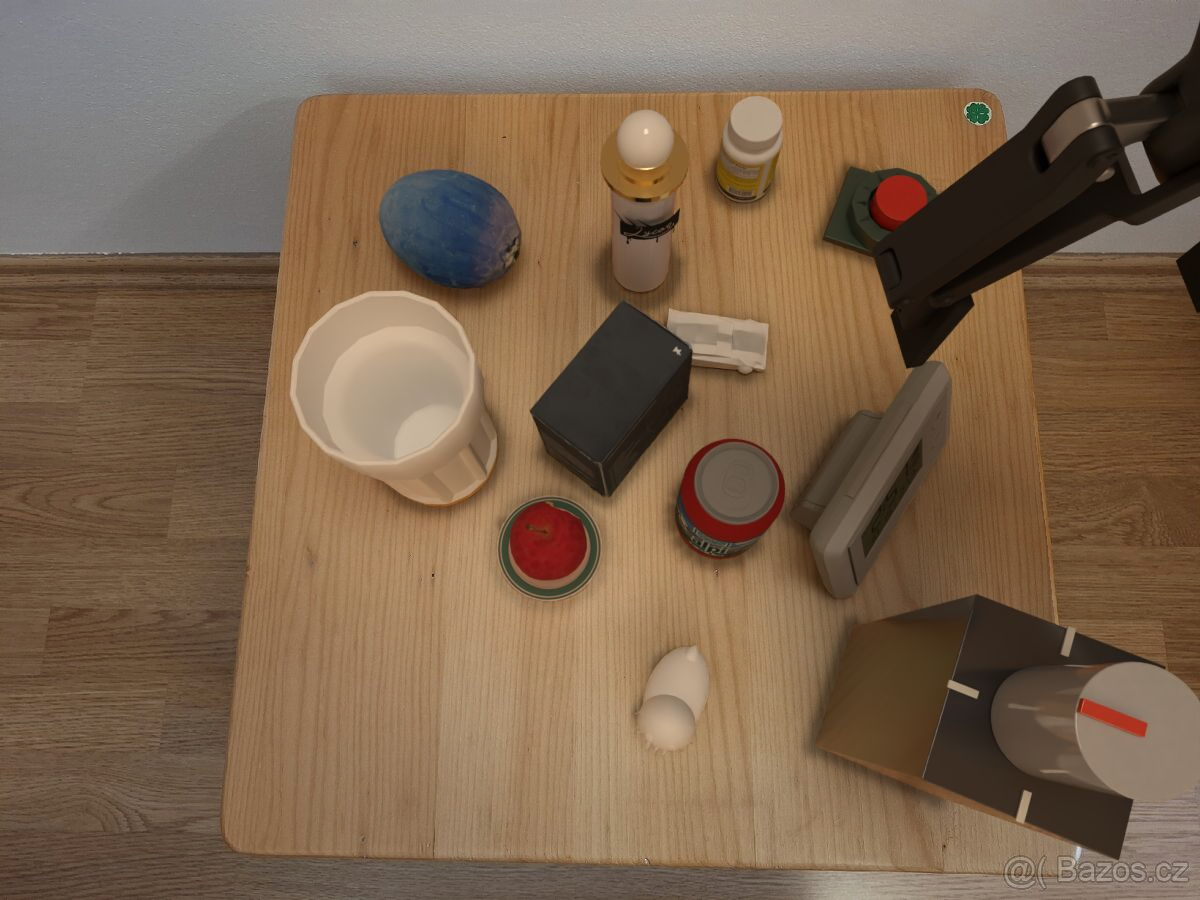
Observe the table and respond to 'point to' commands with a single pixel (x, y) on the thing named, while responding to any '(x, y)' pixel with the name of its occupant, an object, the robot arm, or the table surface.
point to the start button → (897, 201)
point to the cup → (397, 396)
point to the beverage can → (728, 498)
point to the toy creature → (674, 699)
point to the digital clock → (874, 477)
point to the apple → (549, 548)
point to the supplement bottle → (749, 149)
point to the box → (614, 397)
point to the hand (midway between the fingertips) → (1049, 313)
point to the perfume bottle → (643, 196)
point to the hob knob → (1102, 728)
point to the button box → (863, 209)
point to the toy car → (722, 340)
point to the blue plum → (450, 228)
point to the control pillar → (964, 713)
